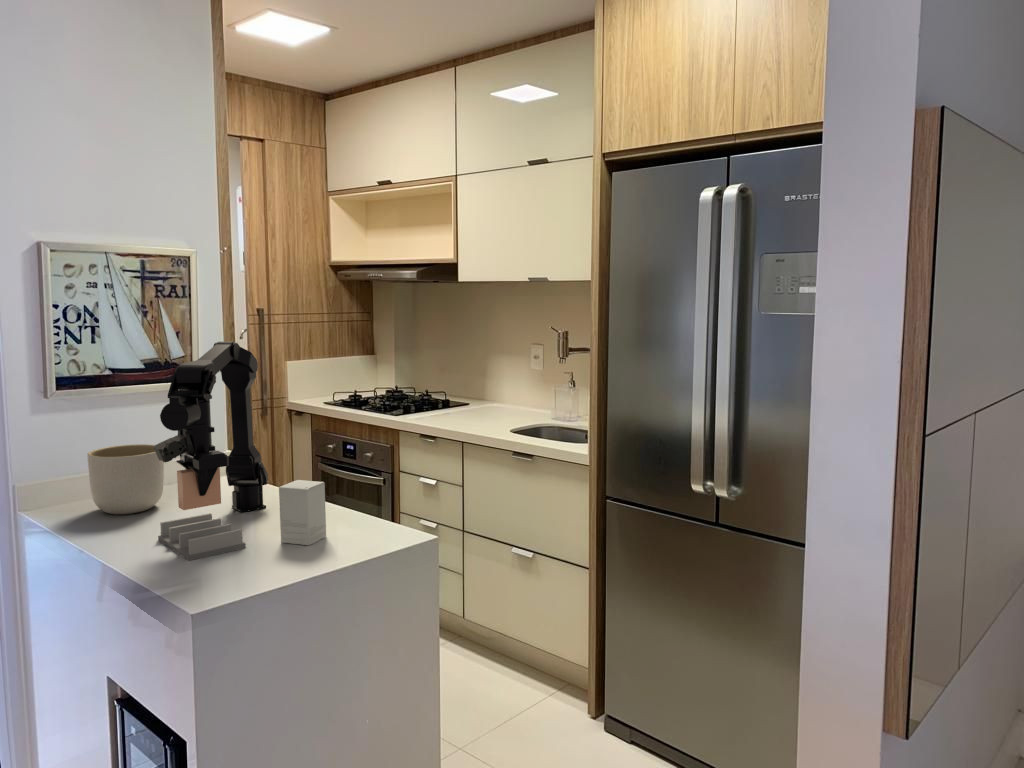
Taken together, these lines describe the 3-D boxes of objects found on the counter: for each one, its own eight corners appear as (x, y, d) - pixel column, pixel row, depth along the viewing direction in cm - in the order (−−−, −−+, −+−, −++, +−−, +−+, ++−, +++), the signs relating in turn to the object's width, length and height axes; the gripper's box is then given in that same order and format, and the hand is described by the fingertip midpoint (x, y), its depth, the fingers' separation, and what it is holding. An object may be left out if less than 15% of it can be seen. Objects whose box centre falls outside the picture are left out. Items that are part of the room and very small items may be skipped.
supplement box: (327, 536, 171) (326, 481, 169) (308, 546, 164) (306, 489, 162) (299, 533, 173) (297, 478, 172) (279, 542, 166) (277, 486, 165)
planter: (171, 512, 190) (168, 452, 188) (94, 523, 180) (91, 460, 179) (159, 497, 204) (157, 441, 202) (87, 506, 194) (84, 448, 193)
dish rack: (212, 529, 176) (211, 512, 175) (245, 547, 163) (244, 529, 162) (158, 540, 168) (157, 522, 167) (188, 560, 154) (187, 541, 154)
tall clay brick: (215, 500, 168) (214, 465, 167) (221, 503, 166) (219, 467, 165) (178, 507, 163) (176, 470, 162) (183, 510, 160) (181, 473, 160)
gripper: (142, 421, 164) (145, 492, 165) (172, 432, 150) (176, 509, 152) (194, 416, 171) (197, 484, 173) (228, 426, 158) (231, 500, 159)
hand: (199, 494), depth 164 cm, fingers closed on tall clay brick, 3 cm apart
